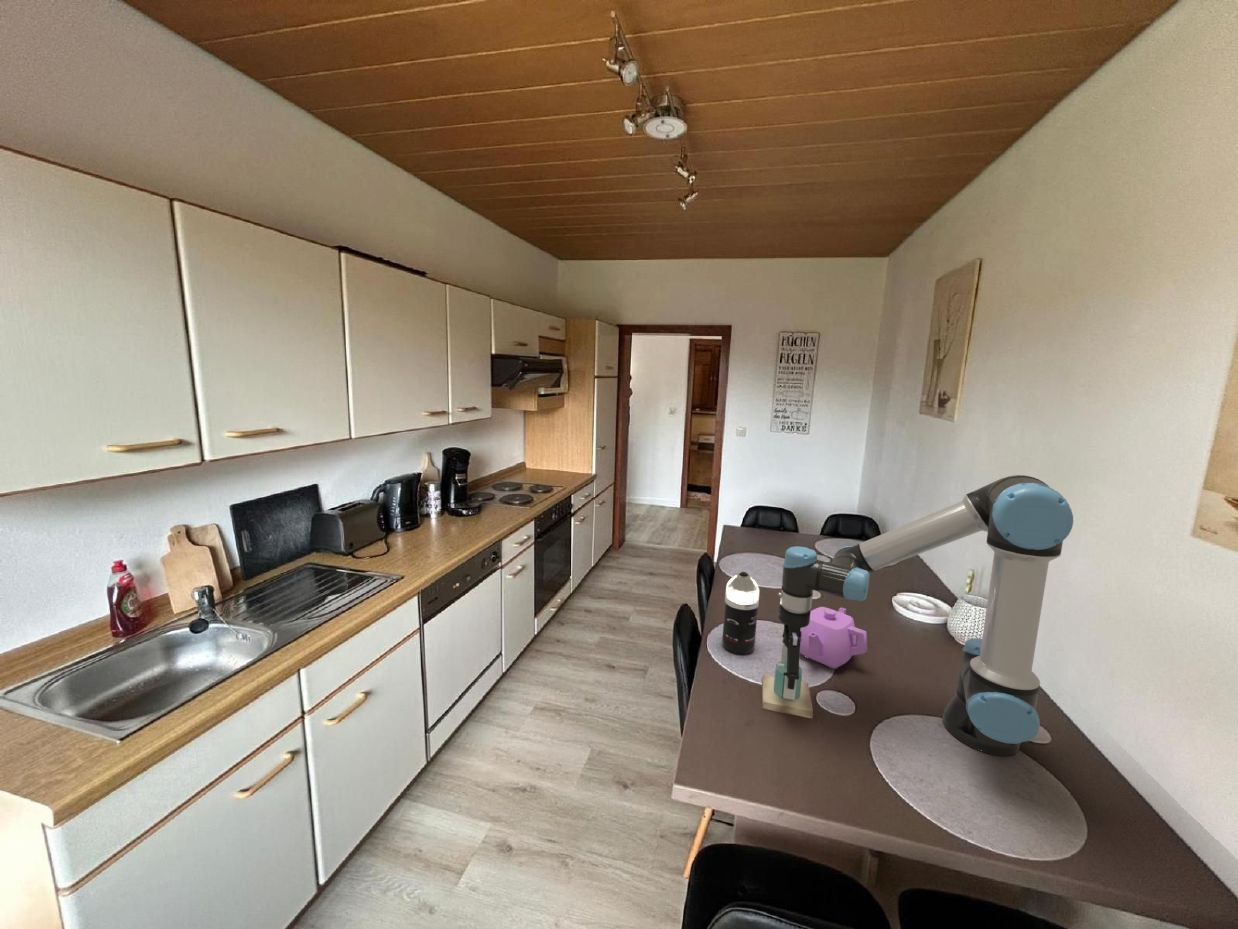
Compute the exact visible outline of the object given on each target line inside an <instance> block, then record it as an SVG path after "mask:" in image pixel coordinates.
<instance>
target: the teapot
mask: <svg viewBox="0 0 1238 929" xmlns="http://www.w3.org/2000/svg"><path fill="white" fill-rule="evenodd" d="M810 612H811V613H810V622H809V625H808V626H806V627H802V628H800V631H801V641H800V654H801V655H804V656H806V657H808V658H807V659H809V658H811V660H813V661H815V662H817V663H819V664H822V665H825V666H826V667H827V668H829V669H831V670H837V669H838V668H839V667H841V666H843V665H844V664H846V663H848V661H849V660H850V659H851V658H852V656H856V655H858V656H859V655H865V654H866V653H867V651H868V638H867V634H868V633H867V631H866V630H863V629H861V628H858V627H856V626H855V621H854V617H852V616H851V615H848V614H846V613H847V608H844V607H840V608H838V611H837V610H835V609H832V608H829V607H826V606H819V607H817V608H814V609H813V610H810ZM804 656H803V657H804ZM806 657H805V658H806Z"/></svg>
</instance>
